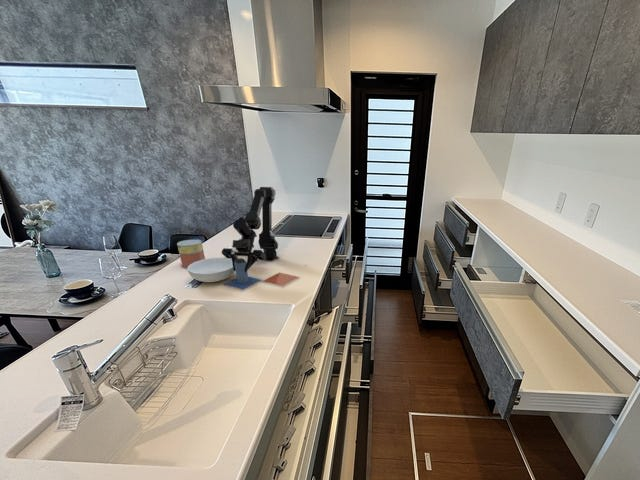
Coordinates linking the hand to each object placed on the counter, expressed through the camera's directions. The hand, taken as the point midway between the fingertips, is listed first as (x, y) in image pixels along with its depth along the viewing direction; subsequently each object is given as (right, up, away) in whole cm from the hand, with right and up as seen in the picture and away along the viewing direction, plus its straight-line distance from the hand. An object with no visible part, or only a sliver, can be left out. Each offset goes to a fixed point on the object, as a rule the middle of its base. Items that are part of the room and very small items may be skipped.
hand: (239, 271), depth 137 cm
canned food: (-35, +4, +24) cm, 43 cm away
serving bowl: (-15, -3, +8) cm, 18 cm away
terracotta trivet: (+16, -4, +8) cm, 19 cm away
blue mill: (0, -5, +4) cm, 6 cm away
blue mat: (0, -6, +4) cm, 7 cm away
